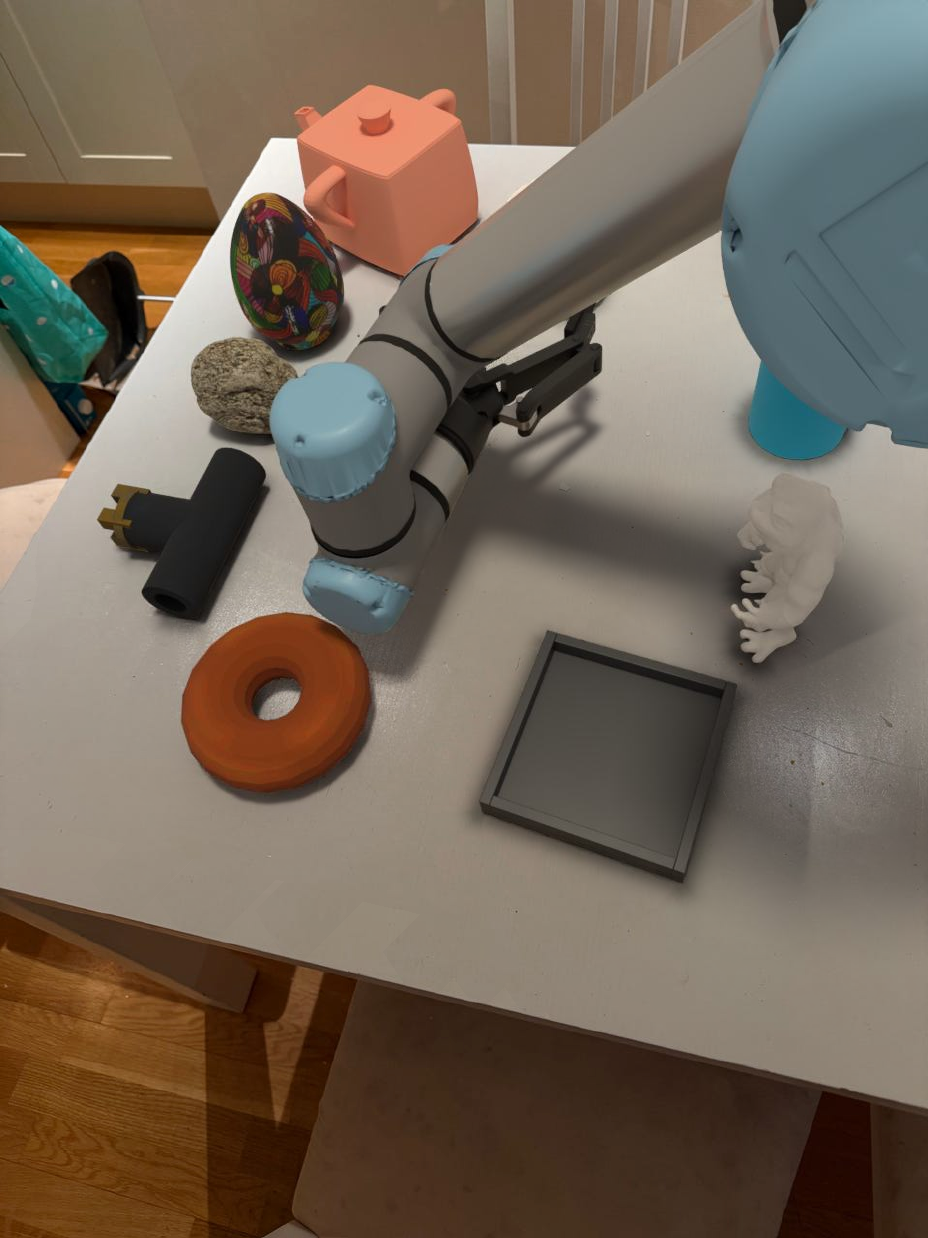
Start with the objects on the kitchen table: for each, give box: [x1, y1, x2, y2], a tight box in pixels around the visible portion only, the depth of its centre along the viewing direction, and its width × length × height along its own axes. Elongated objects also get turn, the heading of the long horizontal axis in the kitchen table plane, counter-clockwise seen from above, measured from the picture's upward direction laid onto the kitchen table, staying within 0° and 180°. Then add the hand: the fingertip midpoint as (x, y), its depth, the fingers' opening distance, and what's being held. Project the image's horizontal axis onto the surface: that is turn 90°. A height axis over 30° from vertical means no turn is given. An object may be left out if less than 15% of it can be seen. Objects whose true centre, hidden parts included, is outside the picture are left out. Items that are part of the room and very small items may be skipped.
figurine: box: [730, 471, 845, 664], centre depth 63 cm, size 11×7×15 cm, turn 170°
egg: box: [229, 192, 345, 351], centre depth 87 cm, size 11×11×15 cm
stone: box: [190, 336, 299, 435], centre depth 83 cm, size 6×10×10 cm, turn 75°
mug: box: [748, 360, 847, 461], centre depth 76 cm, size 12×8×8 cm
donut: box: [180, 611, 372, 794], centre depth 68 cm, size 15×15×5 cm
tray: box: [478, 629, 738, 883], centre depth 64 cm, size 15×15×2 cm
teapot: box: [293, 84, 479, 277], centre depth 95 cm, size 20×22×14 cm
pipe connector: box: [96, 446, 267, 620], centre depth 78 cm, size 12×5×15 cm
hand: (519, 278), depth 79 cm, fingers open, 13 cm apart
